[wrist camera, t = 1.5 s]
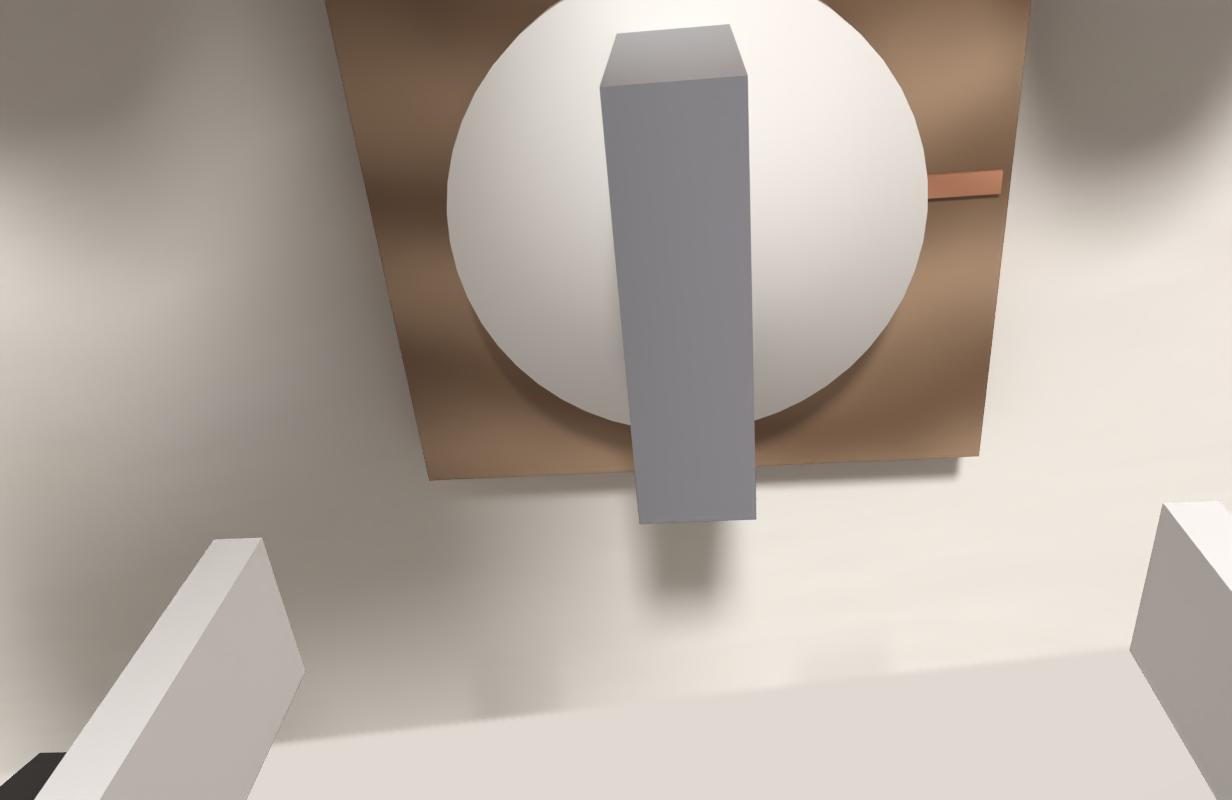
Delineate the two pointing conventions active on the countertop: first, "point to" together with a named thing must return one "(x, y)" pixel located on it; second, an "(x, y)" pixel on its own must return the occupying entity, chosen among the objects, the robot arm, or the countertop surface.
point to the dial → (687, 222)
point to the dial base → (801, 434)
